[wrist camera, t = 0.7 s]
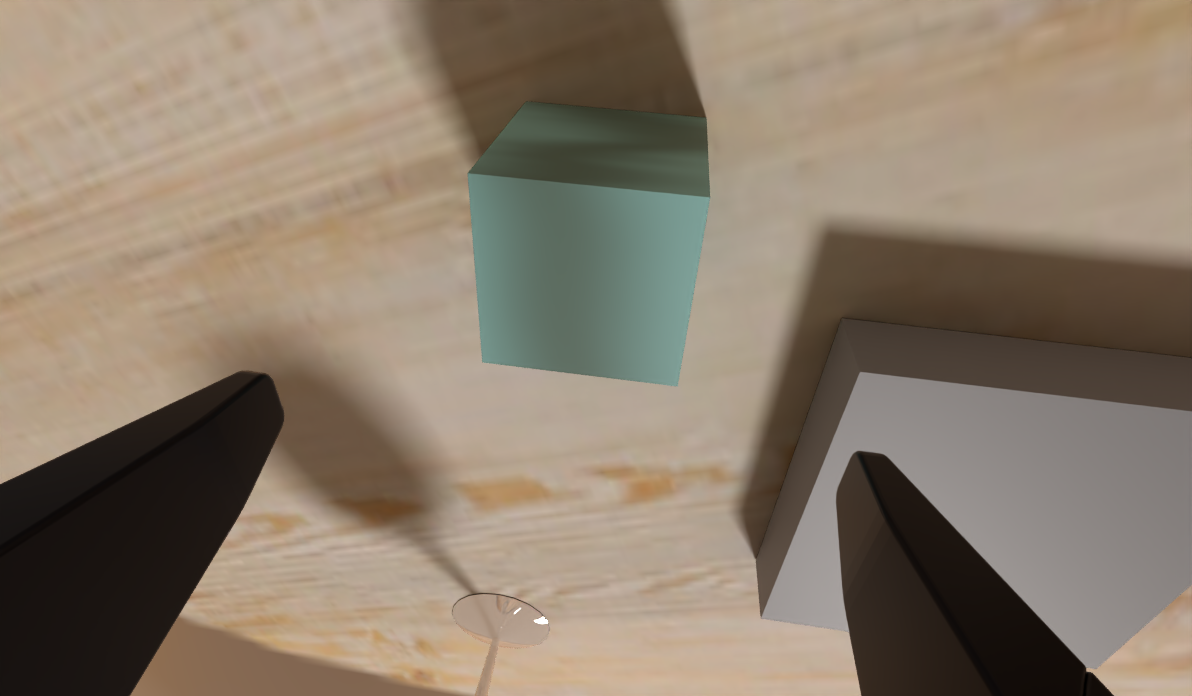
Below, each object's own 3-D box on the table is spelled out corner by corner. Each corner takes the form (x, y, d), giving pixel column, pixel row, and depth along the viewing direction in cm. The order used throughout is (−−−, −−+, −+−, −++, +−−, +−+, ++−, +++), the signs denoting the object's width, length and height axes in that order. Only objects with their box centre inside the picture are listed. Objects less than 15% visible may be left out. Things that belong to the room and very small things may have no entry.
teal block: (706, 116, 15) (709, 197, 11) (681, 275, 18) (677, 386, 14) (526, 100, 15) (467, 173, 11) (529, 259, 18) (482, 362, 14)
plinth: (1285, 368, 17) (1363, 431, 15) (1063, 604, 24) (1096, 668, 22) (841, 318, 18) (860, 371, 16) (755, 560, 25) (760, 618, 23)
